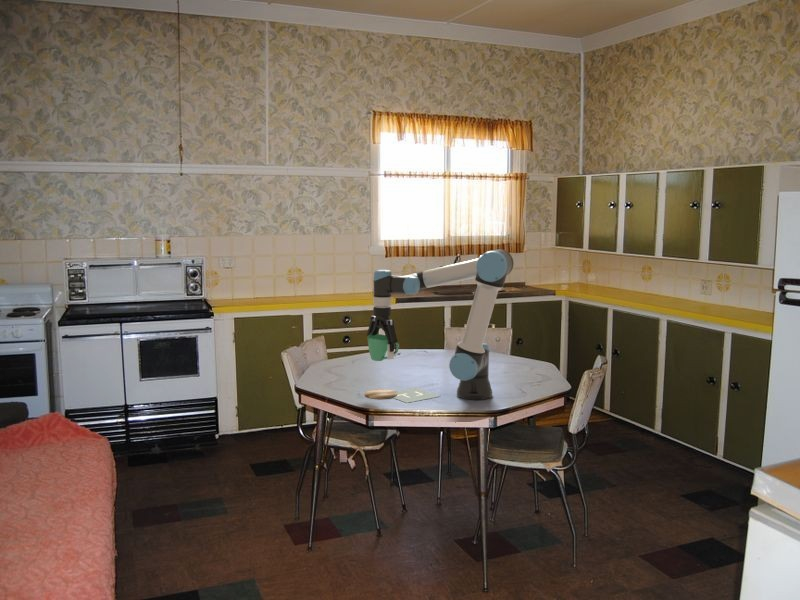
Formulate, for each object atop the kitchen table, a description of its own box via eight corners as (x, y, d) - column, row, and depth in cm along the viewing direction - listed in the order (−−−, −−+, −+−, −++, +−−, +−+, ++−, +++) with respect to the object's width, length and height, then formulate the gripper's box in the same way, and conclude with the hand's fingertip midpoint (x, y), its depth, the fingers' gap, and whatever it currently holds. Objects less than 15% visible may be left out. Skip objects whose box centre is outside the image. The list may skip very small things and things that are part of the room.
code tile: (440, 396, 313) (440, 396, 313) (406, 403, 303) (406, 402, 303) (415, 387, 328) (415, 387, 328) (381, 393, 317) (381, 393, 317)
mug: (361, 359, 313) (363, 336, 311) (372, 355, 322) (374, 332, 320) (391, 366, 307) (393, 343, 305) (402, 361, 315) (404, 339, 313)
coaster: (404, 395, 314) (404, 394, 314) (376, 400, 306) (376, 399, 306) (385, 388, 326) (385, 387, 325) (358, 393, 317) (358, 392, 317)
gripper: (406, 309, 303) (405, 360, 306) (373, 302, 323) (373, 350, 326) (391, 310, 299) (390, 362, 302) (359, 303, 318) (358, 352, 321)
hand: (381, 356), depth 314 cm, fingers closed on mug, 12 cm apart
